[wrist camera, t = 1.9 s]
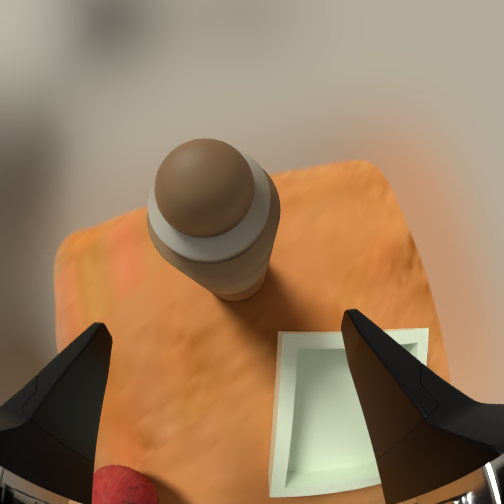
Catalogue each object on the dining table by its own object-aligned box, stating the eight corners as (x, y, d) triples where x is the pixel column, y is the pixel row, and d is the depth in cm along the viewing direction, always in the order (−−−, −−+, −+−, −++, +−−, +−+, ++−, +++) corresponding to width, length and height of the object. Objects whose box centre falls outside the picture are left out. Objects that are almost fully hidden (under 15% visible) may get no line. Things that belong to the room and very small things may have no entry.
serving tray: (387, 461, 16) (404, 477, 13) (267, 475, 17) (269, 497, 13) (405, 328, 20) (428, 328, 16) (277, 331, 20) (282, 333, 16)
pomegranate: (161, 456, 17) (125, 503, 9) (174, 502, 16) (148, 551, 8) (104, 447, 17) (57, 481, 9) (119, 492, 16) (83, 531, 8)
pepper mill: (264, 302, 20) (291, 258, 6) (201, 299, 20) (93, 249, 6) (267, 241, 22) (288, 98, 7) (206, 239, 22) (135, 103, 7)
